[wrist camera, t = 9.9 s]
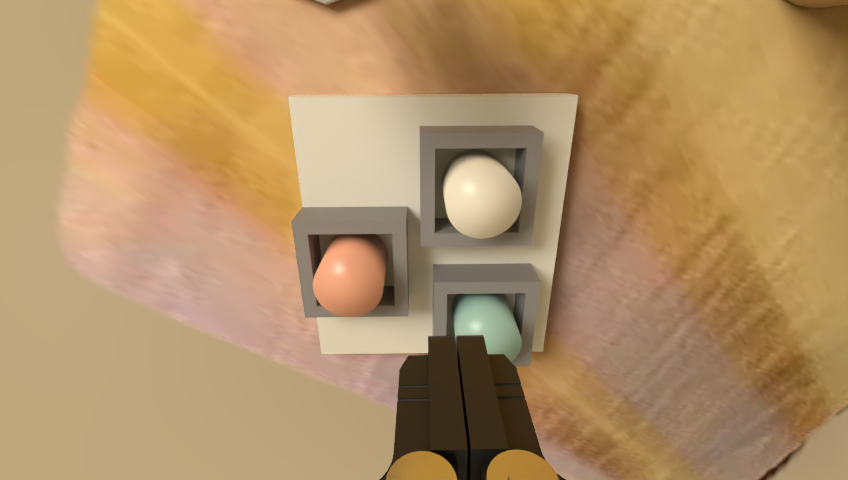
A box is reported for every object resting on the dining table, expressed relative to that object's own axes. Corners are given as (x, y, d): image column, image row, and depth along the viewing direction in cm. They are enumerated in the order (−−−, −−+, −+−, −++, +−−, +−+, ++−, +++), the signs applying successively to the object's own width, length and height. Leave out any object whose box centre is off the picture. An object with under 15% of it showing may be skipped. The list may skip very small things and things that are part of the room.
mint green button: (510, 282, 34) (524, 317, 30) (505, 330, 36) (518, 370, 32) (452, 283, 34) (457, 318, 30) (450, 331, 36) (455, 371, 31)
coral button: (386, 227, 32) (381, 256, 27) (389, 281, 34) (384, 316, 29) (324, 228, 32) (308, 256, 27) (330, 282, 34) (316, 317, 29)
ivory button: (508, 149, 30) (525, 165, 25) (503, 212, 32) (518, 238, 27) (442, 149, 30) (446, 166, 25) (441, 212, 32) (445, 238, 27)
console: (568, 92, 30) (595, 99, 26) (536, 337, 39) (552, 374, 35) (296, 94, 30) (274, 101, 26) (326, 340, 39) (313, 377, 35)
